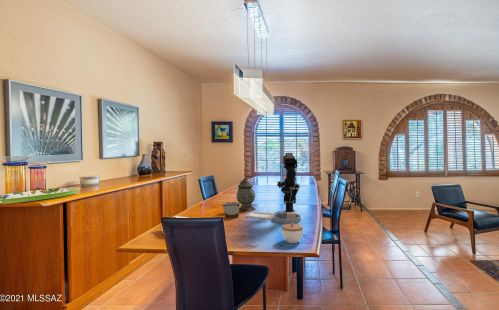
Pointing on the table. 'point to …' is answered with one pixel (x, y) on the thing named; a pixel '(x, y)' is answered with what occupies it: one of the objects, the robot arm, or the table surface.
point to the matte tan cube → (291, 215)
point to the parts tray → (260, 215)
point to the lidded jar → (292, 232)
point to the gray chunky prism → (282, 215)
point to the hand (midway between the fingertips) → (290, 201)
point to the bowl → (294, 220)
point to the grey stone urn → (245, 195)
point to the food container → (231, 209)
